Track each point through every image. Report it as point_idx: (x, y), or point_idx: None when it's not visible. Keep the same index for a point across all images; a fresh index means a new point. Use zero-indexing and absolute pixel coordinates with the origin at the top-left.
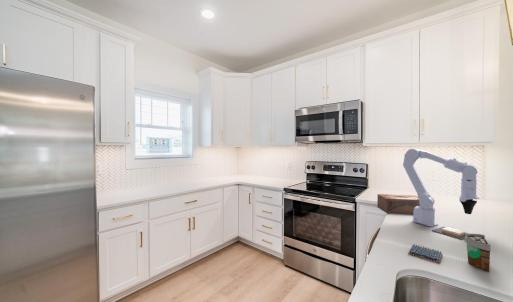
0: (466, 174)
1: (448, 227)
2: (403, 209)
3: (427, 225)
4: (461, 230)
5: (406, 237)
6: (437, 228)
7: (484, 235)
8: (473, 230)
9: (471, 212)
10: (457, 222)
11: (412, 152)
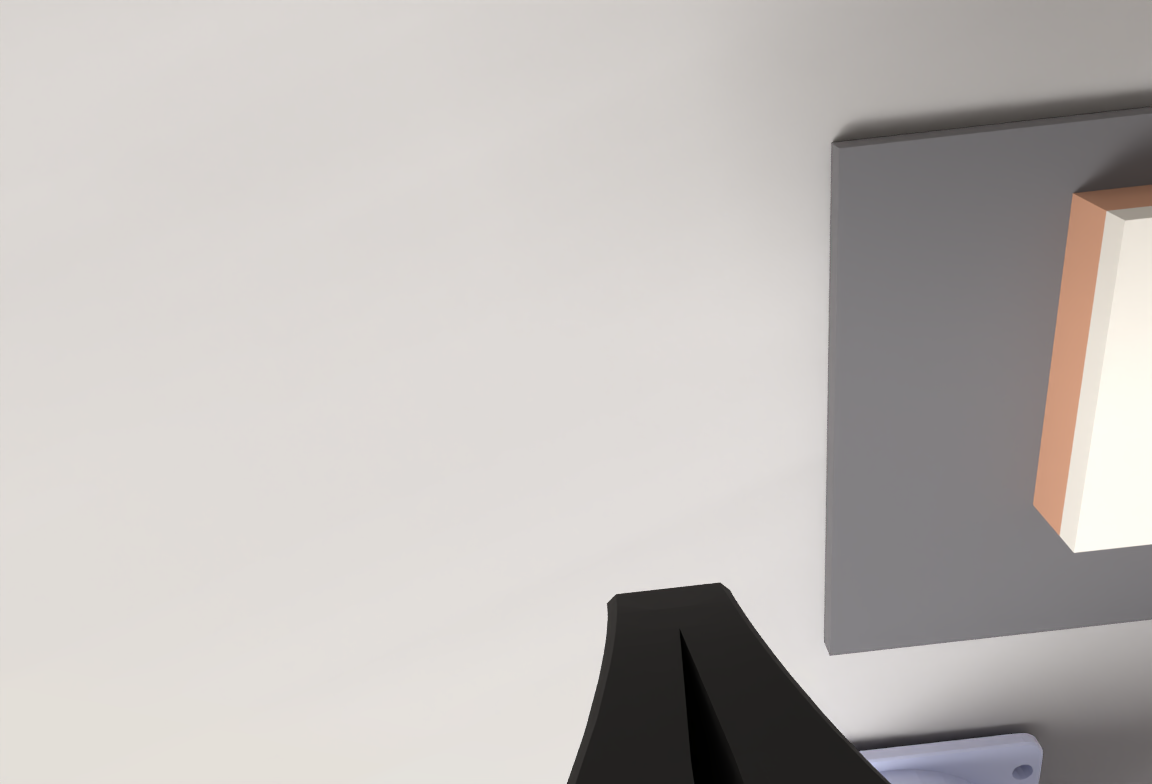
0: None
1: (1127, 520)
2: None
3: (1031, 778)
4: (1117, 295)
5: None
6: (1103, 624)
7: None
8: (350, 340)
9: (653, 630)
10: (91, 746)
11: None
